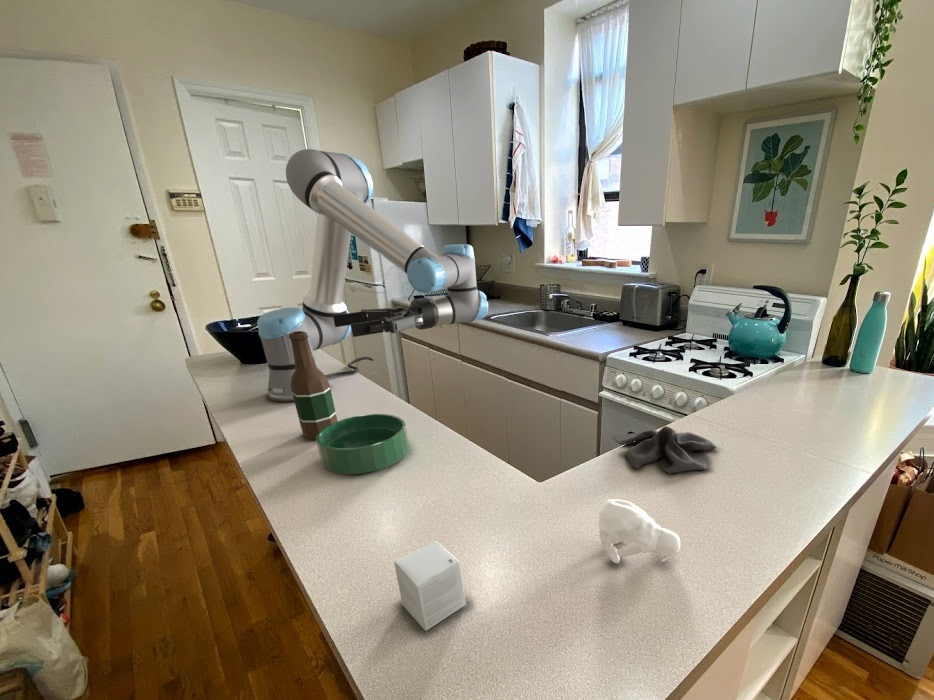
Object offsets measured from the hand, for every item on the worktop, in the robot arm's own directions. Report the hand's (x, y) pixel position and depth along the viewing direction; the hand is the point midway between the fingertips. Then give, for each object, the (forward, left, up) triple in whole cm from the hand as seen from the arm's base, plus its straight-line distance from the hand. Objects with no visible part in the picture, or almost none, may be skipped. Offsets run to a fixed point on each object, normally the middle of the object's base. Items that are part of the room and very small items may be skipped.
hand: (342, 325), depth 105 cm
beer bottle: (+7, -7, -24) cm, 26 cm away
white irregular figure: (+44, +64, -24) cm, 81 cm away
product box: (+56, +37, -24) cm, 71 cm away
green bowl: (+17, +9, -24) cm, 31 cm away
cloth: (+11, +71, -24) cm, 76 cm away
